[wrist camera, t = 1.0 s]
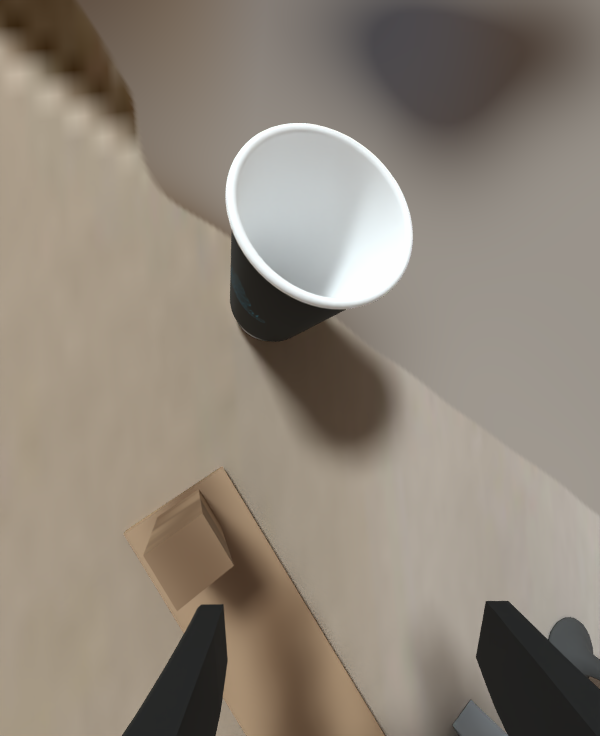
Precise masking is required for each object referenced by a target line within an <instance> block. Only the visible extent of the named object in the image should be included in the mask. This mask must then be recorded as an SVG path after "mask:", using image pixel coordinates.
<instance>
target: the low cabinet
mask: <svg viewBox="0 0 600 736" xmlns="http://www.w3.org/2000/svg"><path fill="white" fill-rule="evenodd" d="M453 727H454V728H455V730H456V732H457V733H458V735H459V736H508V735H507V734H506V733H505V732H504V731H503V730H502V729H501V728H500V727H499V726H498V725H497V724H496V723H494V722H493V721H492V720H491V719H490V718H489V717H488V716H487V715H486V714H485V713H484V712H483V711H482V710H481V709H480V708H479V707H478V706H477V705H476V704H475V703H474V702H473V701H472V700H470V702H469V703H468V704H467V706H466V707H465V709H464V710H463V711H462V713H461V714H460V715H459V717H458V718H457V720H456V721H455V722H454V724H453Z"/></svg>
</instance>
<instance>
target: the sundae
mask: <svg viewBox="0 0 600 736" xmlns="http://www.w3.org/2000/svg"><path fill="white" fill-rule="evenodd" d="M549 641H550V642H551V643H552V644H553V645H554V646H555V647H556V648H557V649H558V650H559V651H560V652H561V653H562V654H563V655H564V656H565V657H566V658H567V659H568V660H569V661H570V662H571V663H572V664H573V665H574V666H576V667H577V668H578V669H579V670H580V671H581V672H582V673H583V674H584V675H585V676H586V677H587V678H589V676H591V677H594V678H596V679H598V680H600V659H598V658H597V657H596V656H594V655H593V647H592V643H591V640H590V636H589V634H588V632H587V630H586V628H585V627H584V625H583V624H582V623H581V622H579V621H578V620H576V619H575V618H571V617H568V618H564V619H562V620H560V621H558V622H557V623H556V624H555V626H554V627H553V629H552V631H551V633H550V636H549Z"/></svg>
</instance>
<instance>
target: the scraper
mask: <svg viewBox="0 0 600 736" xmlns="http://www.w3.org/2000/svg"><path fill="white" fill-rule="evenodd" d="M124 536H125V537H126V539H127V541H128V542H129V544H130V546H131V547H132V549H133V551H134V552H135V554H136V555H137V557H138V559H139V560H140V562H141V564H142V565H143V567H144V569H145V570H146V572H147V574H148V575H149V577H150V578H151V580H152V582H153V583H154V585H155V587H156V588H157V590H158V592H159V593H160V595H161V597H162V598H163V600H164V601H165V603H166V605H167V606H168V608H169V610H170V611H171V613H172V615H173V616H174V618H175V620H176V621H177V623H178V624H179V626H180V628H181V629H182V631H183V633H185V631H186V629H187V627H188V625H189V623H190V622H191V620H192V618H193V616H194V614H195V612H196V610H197V608H198V607H199V606H200V605H201V604H224V617H225V630H226V644H227V657H228V662H227V670H226V677H225V684H224V691H223V698H224V700H225V702H226V703H227V705H228V707H229V708H230V710H231V711H232V713H233V715H234V716H235V718H236V720H237V721H238V723H239V725H240V726H241V728H242V730H243V731H244V733H245V734H246V736H385V735H384V733H383V732H382V730H381V728H380V727H379V725H378V723H377V722H376V720H375V718H374V717H373V715H372V713H371V712H370V710H369V708H368V707H367V705H366V703H365V702H364V700H363V698H362V697H361V695H360V694H359V692H358V690H357V689H356V687H355V685H354V684H353V682H352V680H351V679H350V677H349V675H348V674H347V672H346V670H345V669H344V667H343V665H342V664H341V662H340V660H339V659H338V657H337V655H336V654H335V652H334V650H333V649H332V647H331V646H330V644H329V642H328V641H327V639H326V637H325V636H324V634H323V632H322V631H321V629H320V627H319V626H318V624H317V622H316V621H315V619H314V617H313V616H312V614H311V612H310V611H309V609H308V607H307V606H306V604H305V603H304V601H303V599H302V598H301V596H300V594H299V593H298V591H297V589H296V588H295V586H294V584H293V583H292V581H291V579H290V578H289V576H288V574H287V573H286V571H285V569H284V568H283V566H282V564H281V563H280V561H279V559H278V558H277V556H276V555H275V553H274V551H273V550H272V548H271V546H270V545H269V543H268V541H267V540H266V538H265V536H264V535H263V533H262V531H261V530H260V528H259V526H258V525H257V523H256V521H255V520H254V518H253V516H252V515H251V513H250V511H249V510H248V508H247V507H246V505H245V503H244V502H243V500H242V498H241V497H240V495H239V493H238V492H237V490H236V488H235V487H234V485H233V483H232V482H231V480H230V478H229V477H228V475H227V473H226V472H225V470H224V468H223V467H220V468H219V469H217V470H216V471H214V472H213V473H211V474H210V475H208V476H207V477H205V478H204V479H202V480H201V481H199V482H198V483H196V484H195V485H193V486H192V487H190V488H189V489H187V490H186V491H184V492H183V493H181V494H180V495H178V496H177V497H175V498H174V499H172V500H171V501H169V502H168V503H166V504H165V505H163V506H162V507H160V508H159V509H157V510H156V511H154V512H153V513H151V514H150V515H148V516H147V517H146V518H144V519H143V520H141V521H140V522H138V523H137V524H135V525H134V526H132V527H131V528H129V529H128V530H126V531H125V533H124Z"/></svg>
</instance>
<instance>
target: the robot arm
mask: <svg viewBox="0 0 600 736" xmlns="http://www.w3.org/2000/svg"><path fill="white" fill-rule="evenodd" d="M476 659H477V661H478V664H479V667H480V669H481V672H482V675H483V678H484V680H485V683H486V686H487V688H488V691H489V693H490V696H491V698H492V701H493V704H494V706H495V709H496V711H497V713H498V715H499V717H500V719H501V721H502V724H503V726H504V728H505V730H506V732H507V734H508V736H600V689H599V688H598V687H597V686H596V685H594V684H593V683H592V682H591V681H590V680H589V679H588V678H587V677H586V676H585V675H584V674H583V673H582V672H581V671H580V670H579V669H578V668H577V667H576V666H574V665H573V664H572V663H571V662H570V661H569V660H568V659H567V658H566V657H565V656H564V655H563V654H562V653H561V652H560V651H559V650H558V649H557V648H556V647H555V646H554V645H553V644H552V643H551V642H550V641H549V640H548V639H547V638H546V637H545V636H544V635H542V634H541V633H540V632H539V631H538V630H537V629H536V628H535V627H534V626H533V625H532V624H531V623H530V622H529V621H528V620H527V619H526V618H525V617H524V616H523V615H522V614H521V613H520V612H519V611H518V610H517V609H516V608H515V607H514V606H513V605H512V604H511V603H510V602H509V601H486V604H485V609H484V615H483V621H482V626H481V632H480V638H479V643H478V649H477V654H476ZM227 662H228V657H227V644H226V630H225V617H224V604H201V605H200V606H199V607H198V608H197V610H196V612H195V614H194V616H193V618H192V620H191V622H190V623H189V625H188V627H187V629H186V631H185V633H184V635H183V637H182V638H181V640H180V642H179V644H178V646H177V647H176V649H175V651H174V653H173V654H172V656H171V658H170V660H169V661H168V663H167V665H166V666H165V668H164V670H163V671H162V673H161V675H160V676H159V678H158V680H157V681H156V683H155V685H154V686H153V688H152V689H151V691H150V693H149V694H148V696H147V698H146V699H145V701H144V703H143V704H142V706H141V707H140V709H139V711H138V712H137V714H136V715H135V717H134V718H133V720H132V721H131V723H130V724H129V726H128V727H127V729H126V730H125V732H124V733H123V735H122V736H215V735H216V731H217V726H218V721H219V717H220V712H221V705H222V698H223V691H224V684H225V677H226V670H227Z"/></svg>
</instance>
